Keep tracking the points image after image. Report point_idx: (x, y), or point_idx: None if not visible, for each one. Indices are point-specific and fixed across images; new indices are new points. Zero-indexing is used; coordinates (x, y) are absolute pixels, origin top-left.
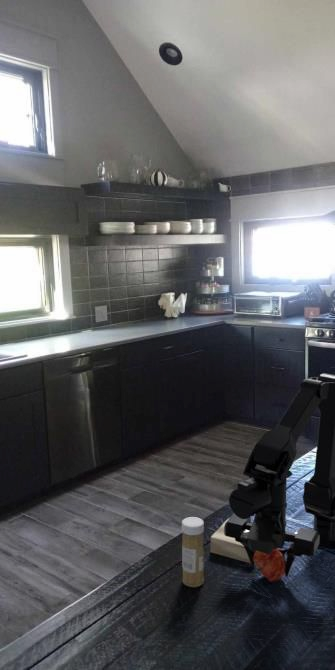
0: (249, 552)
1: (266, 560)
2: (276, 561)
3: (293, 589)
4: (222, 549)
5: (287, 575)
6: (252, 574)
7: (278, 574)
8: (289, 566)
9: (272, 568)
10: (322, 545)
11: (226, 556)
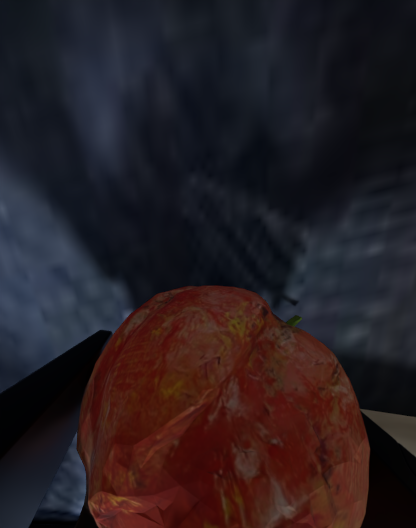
0: (405, 466)
1: (250, 403)
2: (131, 414)
3: (80, 277)
4: (411, 440)
5: (94, 334)
6: (289, 324)
7: (137, 310)
8: (24, 388)
9: (176, 328)
10: (43, 525)
11: (376, 411)
